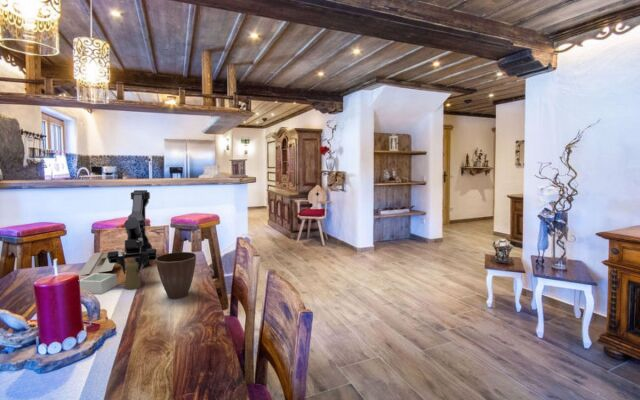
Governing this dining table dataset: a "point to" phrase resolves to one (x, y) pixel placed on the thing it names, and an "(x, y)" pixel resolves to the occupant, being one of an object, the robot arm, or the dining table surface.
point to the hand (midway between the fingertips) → (131, 273)
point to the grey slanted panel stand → (97, 264)
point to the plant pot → (176, 273)
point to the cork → (132, 276)
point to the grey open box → (98, 283)
